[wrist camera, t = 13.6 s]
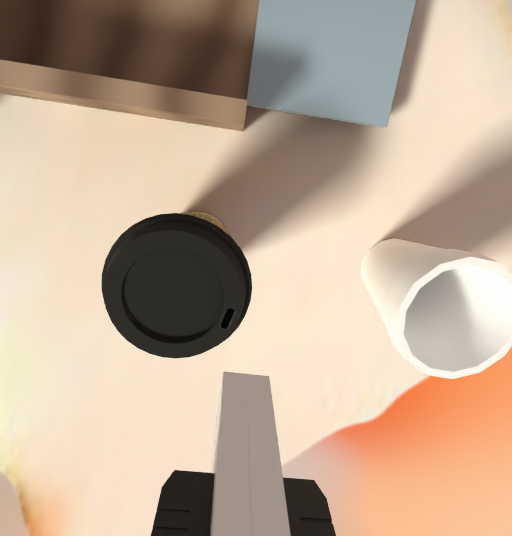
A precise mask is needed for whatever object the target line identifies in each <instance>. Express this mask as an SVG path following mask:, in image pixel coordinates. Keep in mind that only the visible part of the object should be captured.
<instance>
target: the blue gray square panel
mask: <svg viewBox="0 0 512 536" xmlns="http://www.w3.org/2000/svg"><path fill="white" fill-rule="evenodd" d="M415 2H416V0H260V1H259V9H258V16H257V24H256V32H255V40H254V48H253V55H252V63H251V71H250V79H249V87H248V94H247V106H250V107H257V108H263V109H269V110H275V111H281V112H288V113H294V114H300V115H306V116H312V117H319V118H325V119H331V120H337V121H344V122H350V123H356V124H362V125H368V126H375V127H386V126H387V124H388V120H389V116H390V111H391V107H392V103H393V98H394V94H395V90H396V85H397V81H398V76H399V72H400V68H401V63H402V59H403V55H404V50H405V46H406V42H407V37H408V33H409V29H410V24H411V20H412V15H413V11H414V7H415Z"/></svg>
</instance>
